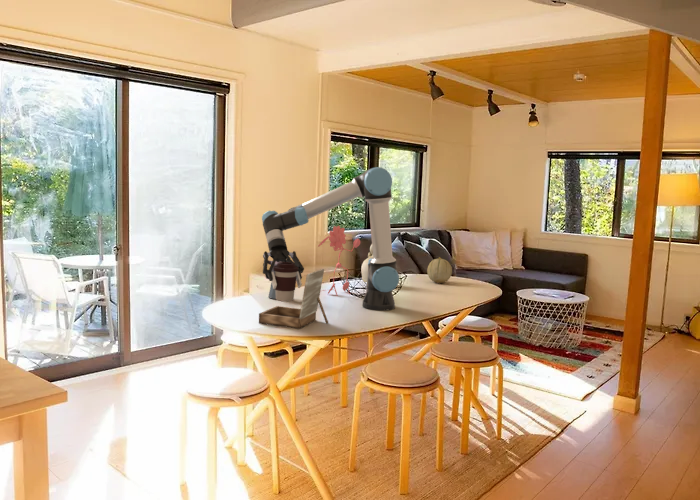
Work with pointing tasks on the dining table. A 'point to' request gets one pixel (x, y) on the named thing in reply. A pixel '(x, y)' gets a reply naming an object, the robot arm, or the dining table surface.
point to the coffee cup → (285, 280)
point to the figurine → (337, 240)
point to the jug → (366, 265)
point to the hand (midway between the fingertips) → (287, 286)
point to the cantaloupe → (439, 270)
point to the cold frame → (294, 315)
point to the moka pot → (272, 291)
